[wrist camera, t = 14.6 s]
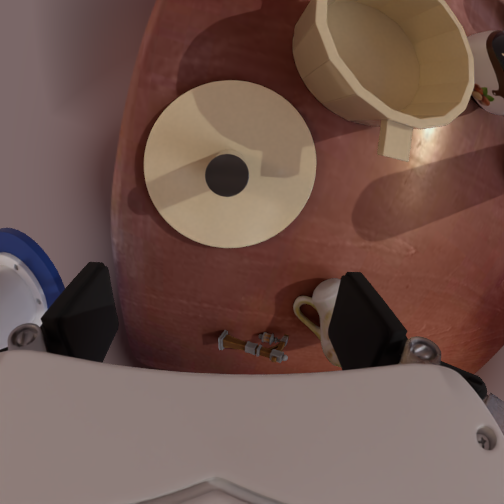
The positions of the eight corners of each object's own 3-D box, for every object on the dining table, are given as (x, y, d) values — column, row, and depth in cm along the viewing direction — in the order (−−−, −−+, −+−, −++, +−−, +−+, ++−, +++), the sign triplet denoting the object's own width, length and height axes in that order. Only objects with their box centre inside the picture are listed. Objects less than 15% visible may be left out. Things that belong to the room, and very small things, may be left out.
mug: (342, 253, 30) (404, 320, 23) (342, 295, 37) (387, 350, 31) (284, 290, 29) (341, 368, 22) (297, 325, 36) (339, 386, 30)
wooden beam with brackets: (295, 343, 33) (284, 369, 29) (234, 329, 36) (218, 351, 32) (296, 332, 32) (286, 357, 28) (233, 317, 35) (217, 339, 31)
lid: (147, 239, 28) (124, 271, 21) (152, 81, 21) (125, 66, 15) (301, 248, 29) (318, 283, 22) (322, 93, 23) (350, 82, 16)
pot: (282, 138, 24) (304, 140, 17) (298, -33, 16) (318, -76, 9) (413, 163, 26) (465, 179, 18) (420, 8, 18) (464, -11, 10)
